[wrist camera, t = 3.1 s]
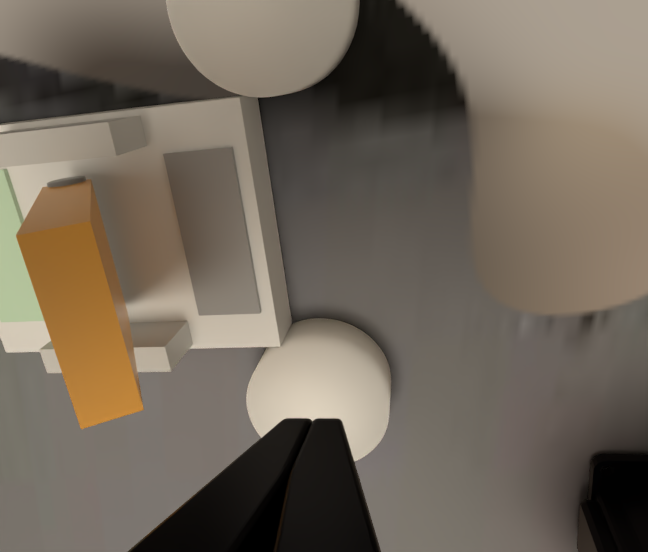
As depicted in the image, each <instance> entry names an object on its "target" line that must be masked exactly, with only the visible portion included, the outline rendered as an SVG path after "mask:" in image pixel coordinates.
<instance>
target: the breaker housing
mask: <svg viewBox="0 0 648 552" xmlns="http://www.w3.org/2000/svg"><path fill="white" fill-rule="evenodd" d="M75 176H85V177H86V180H87V179H91V181H92V184H93V188H94V191H95V195H96V199H97V202H98V206H99V210H100V213H101V217H102V221H103V224H104V228H105V232H106V235H107V239H108V242H109V246H110V250H111V253H112V257H113V261H114V264H115V268H116V272H117V275H118V279H119V283H120V286H121V290H122V294H123V297H124V301H125V304H126V308H127V312H128V317H129V323H130V329H131V336H132V342H133V348H134V354H135V360H136V366H137V372H171V371H172V370H173V369H174V367H175V366H176V365H177V364H178V362H179V361H180V360H181V359H182V357H183V356H184V355H185V353H186V352H187V351H188V350H189V349H192V348H239V347H281V345H282V342H283V340H284V338H285V336H286V334H287V332H288V330H289V328H290V326H291V324H292V319H291V312H290V306H289V299H288V292H287V286H286V279H285V273H284V266H283V260H282V253H281V247H280V240H279V234H278V227H277V221H276V214H275V207H274V201H273V194H272V188H271V181H270V175H269V168H268V162H267V155H266V149H265V142H264V136H263V129H262V123H261V116H260V109H259V103H258V97H248V96H243V95H238V96H230V97H221V98H213V99H204V100H196V101H187V102H179V103H170V104H162V105H153V106H145V107H137V108H128V109H120V110H111V111H103V112H94V113H86V114H77V115H69V116H61V117H52V118H44V119H35V120H27V121H18V122H10V123H1V124H0V338H1V340H2V343H3V346H4V348H5V351H6V352H40V353H41V356H42V359H43V362H44V365H45V368H46V370H47V373H62V371H61V368H60V365H59V362H58V359H57V356H56V353H55V350H54V347H53V344H52V342H51V339H50V336H49V333H48V330H47V327H46V324H45V321H44V318H43V315H42V312H41V309H40V306H39V303H38V300H37V297H36V294H35V291H34V288H33V285H32V282H31V279H30V277H29V274H28V271H27V268H26V265H25V262H24V259H23V256H22V253H21V250H20V247H19V244H18V241H17V238H16V234H17V232H18V231H19V229H20V227H21V225H22V223H23V222H24V220H25V218H26V216H27V214H28V213H29V211H30V209H31V207H32V205H33V204H34V202H35V200H36V198H37V196H38V195H39V193H40V191H41V189H42V187H46V186H47V183H48V182H50V181H53V180H57V179H62V178H67V177H75Z"/></svg>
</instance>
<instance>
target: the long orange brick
mask: <svg viewBox="0 0 648 552" xmlns="http://www.w3.org/2000/svg"><path fill="white" fill-rule="evenodd" d="M16 238H17V241H18V244H19V247H20V250H21V253H22V256H23V259H24V262H25V265H26V268H27V271H28V274H29V277H30V279H31V282H32V285H33V288H34V291H35V294H36V297H37V300H38V303H39V306H40V309H41V312H42V315H43V318H44V321H45V324H46V327H47V330H48V333H49V336H50V339H51V342H52V344H53V347H54V350H55V353H56V356H57V359H58V362H59V365H60V368H61V371H62V374H63V377H64V380H65V383H66V386H67V389H68V392H69V395H70V398H71V401H72V404H73V407H74V409H75V412H76V415H77V418H78V421H79V424H80V427H81V429H83V428H87V427H90V426H93V425H96V424H99V423H103V422H106V421H109V420H112V419H116V418H119V417H122V416H125V415H129V414H132V413H135V412H138V411H141V410H144V409H143V403H142V397H141V391H140V385H139V378H138V372H137V366H136V360H135V354H134V348H133V342H132V336H131V329H130V323H129V317H128V312H127V308H126V304H125V301H124V297H123V294H122V290H121V286H120V283H119V279H118V275H117V272H116V268H115V264H114V261H113V257H112V253H111V250H110V246H109V242H108V239H107V235H106V232H105V228H104V224H103V221H102V217H101V213H100V210H99V206H98V202H97V199H96V195H95V191H94V188H93V184H92V181H91V179H87V180H86V177H85V176H75V177H67V178H62V179H57V180H53V181H50V182H48V183H47V186H46V187H42V189H41V191H40V193H39V195H38V196H37V198H36V200H35V202H34V204H33V205H32V207H31V209H30V211H29V213H28V214H27V216H26V218H25V220H24V222H23V223H22V225H21V227H20V229H19V231H18V232H17V234H16Z"/></svg>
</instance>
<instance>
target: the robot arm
mask: <svg viewBox="0 0 648 552" xmlns="http://www.w3.org/2000/svg"><path fill="white" fill-rule="evenodd" d="M603 466H609V467H608V468H605V469H602V467H603ZM577 549H578V552H648V455H637V454H600V455H598V456H595V457H594V458H593V459H592V461H591V464H590V477H589V489H588V500H584V501H583V502H582V503H581V504H580V511H579V525H578V538H577ZM128 552H381V550H380V547H379V543H378V540H377V537H376V533H375V530H374V526H373V523H372V520H371V516H370V513H369V510H368V506H367V503H366V500H365V496H364V493H363V489H362V486H361V483H360V479H359V476H358V473H357V469H356V466H355V462H354V459H353V456H352V452H351V449H350V446H349V442H348V439H347V436H346V432H345V429H344V425H343V422H342V421H341V420H340V419H338V418H317V419H315V420H313V421H312V420H311V419H309V418H286V419H283V420H282V421H281V422H279V423H278V424H277V425H276V426H275V427H273V428H272V429H271V430H270V431H269V432H268V433H266V434H265V435H264V436H263V437H262V438H261V439H259V440H258V441H257V442H256V443H255V444H253V445H252V446H251V447H250V448H249V449H248V450H246V451H245V452H244V453H243V454H242V455H241V456H239V457H238V458H237V459H236V460H235V461H234V462H232V463H231V464H230V465H229V466H228V467H226V468H225V469H224V470H223V471H222V472H221V473H219V474H218V475H217V476H216V477H215V478H214V479H212V480H211V481H210V482H209V483H208V484H206V485H205V486H204V487H203V488H202V489H201V490H199V491H198V492H197V493H196V494H195V495H194V496H192V497H191V498H190V499H189V500H188V501H186V502H185V503H184V504H183V505H182V506H181V507H179V508H178V509H177V510H176V511H175V512H174V513H172V514H171V515H170V516H169V517H168V518H166V519H165V520H164V521H163V522H162V523H161V524H159V525H158V526H157V527H156V528H155V529H154V530H152V531H151V532H150V533H149V534H148V535H147V536H145V537H144V538H143V539H142V540H141V541H139V542H138V543H137V544H136V545H135V546H134V547H132V548H131V549H130V550H129V551H128Z"/></svg>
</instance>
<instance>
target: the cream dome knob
mask: <svg viewBox="0 0 648 552" xmlns="http://www.w3.org/2000/svg"><path fill="white" fill-rule="evenodd" d="M390 395H391V371H390V367H389V364H388V361H387V359H386V357H385V355H384V353H383V351H382V350H381V348H380V347H379V346H378V345H377V343H376V342H375V341H374V340H373V339H372V338H371V337H370V336H368V335H367V334H366V333H364V332H363V331H362V330H360V329H358V328H356V327H355V326H352V325H350V324H348V323H345V322H342V321H339V320H334V319H327V318H313V319H306V320H302V321H298V322H295V323H293V324H291V326H290V328H289V330H288V332H287V334H286V336H285V338H284V340H283V342H282V345H281V347H267V348H266V350H265V352H264V354H263V356H262V357H261V359H260V361H259V363H258V365H257V367H256V369H255V371H254V373H253V375H252V377H251V380H250V382H249V385H248V389H247V398H246V401H247V409H248V414H249V417H250V419H251V422H252V424H253V426H254V428H255V430H256V431H257V433H258V434H259V435H260V437H261V438H262V437H263V436H264V435H265V434H266V433H268V432H269V431H270V430H271V429H272V428H273V427H275V426H276V425H277V424H278V423H279V422H281V421H282V420H283V419H286V418H309V419H311V420H312V421H313V420H315V419H317V418H338V419H340V420H341V421H342V422H343V425H344V429H345V432H346V436H347V439H348V442H349V446H350V449H351V452H352V456H353V459H354V461H357V460H359V459H361V458H363V457H364V456H366V455H367V454H368V453H370V452H371V451H372V450H373V449H374V448H375V447H376V446H377V445H378V444H379V442H380V441H381V439H382V438H383V436H384V434H385V432H386V429H387V426H388V421H389V411H390Z"/></svg>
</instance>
